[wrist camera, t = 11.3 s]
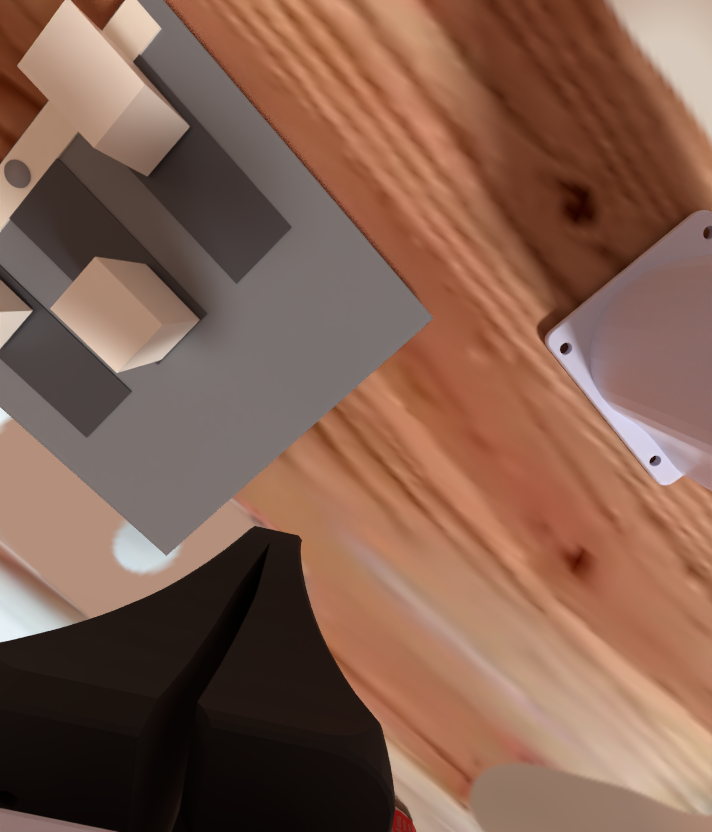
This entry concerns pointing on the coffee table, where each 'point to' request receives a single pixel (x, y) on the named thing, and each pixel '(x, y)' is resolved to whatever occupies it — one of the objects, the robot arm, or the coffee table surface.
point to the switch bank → (188, 293)
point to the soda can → (402, 822)
